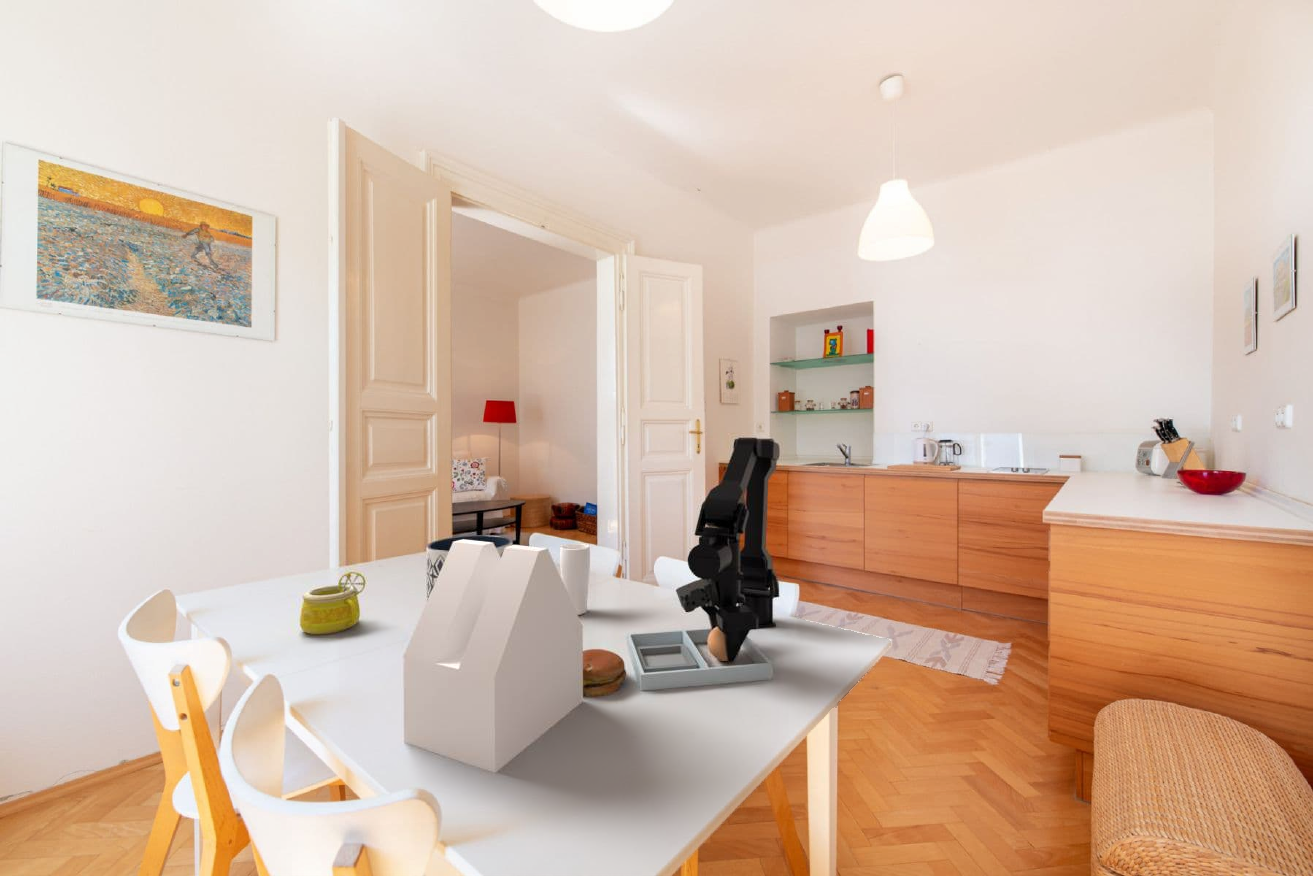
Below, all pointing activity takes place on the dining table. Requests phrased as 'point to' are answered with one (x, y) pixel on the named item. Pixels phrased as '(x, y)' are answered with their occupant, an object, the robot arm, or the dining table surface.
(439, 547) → the planter
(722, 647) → the ball
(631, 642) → the two compartment tray
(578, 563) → the drinking glass
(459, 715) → the slotted house block
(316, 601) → the mug
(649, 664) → the square tray
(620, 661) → the burger
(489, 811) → the dining table surface
